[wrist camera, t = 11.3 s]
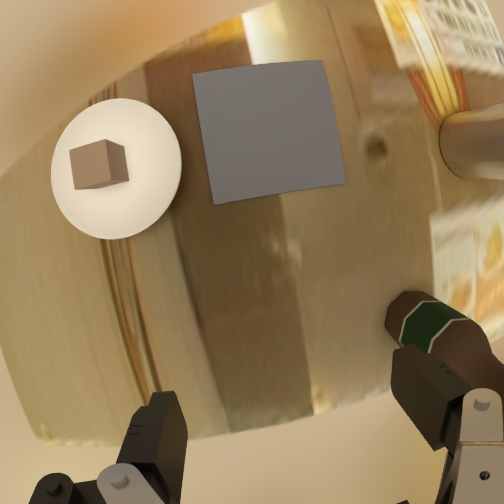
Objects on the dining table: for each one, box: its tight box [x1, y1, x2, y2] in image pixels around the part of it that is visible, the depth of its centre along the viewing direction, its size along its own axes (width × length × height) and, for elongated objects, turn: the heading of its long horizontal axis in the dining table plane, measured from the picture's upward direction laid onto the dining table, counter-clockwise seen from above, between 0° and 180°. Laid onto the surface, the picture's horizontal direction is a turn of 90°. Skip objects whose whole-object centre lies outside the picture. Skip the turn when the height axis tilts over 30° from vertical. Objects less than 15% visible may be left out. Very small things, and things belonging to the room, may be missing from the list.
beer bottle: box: [385, 292, 504, 396], centre depth 28 cm, size 8×8×24 cm
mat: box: [192, 60, 346, 205], centre depth 33 cm, size 15×15×1 cm
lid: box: [51, 99, 182, 239], centre depth 24 cm, size 13×13×6 cm
